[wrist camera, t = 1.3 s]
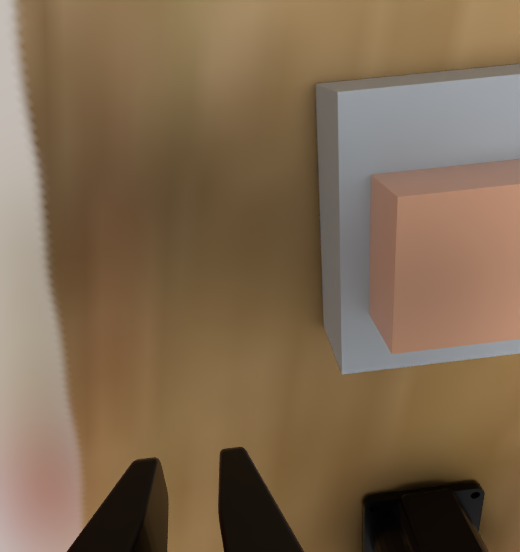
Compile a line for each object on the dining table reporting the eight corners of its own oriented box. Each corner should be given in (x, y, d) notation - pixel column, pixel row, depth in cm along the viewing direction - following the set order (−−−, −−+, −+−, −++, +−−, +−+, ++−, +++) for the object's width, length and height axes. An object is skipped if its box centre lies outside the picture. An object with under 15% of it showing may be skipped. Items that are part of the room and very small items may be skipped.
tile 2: (506, 298, 17) (549, 335, 15) (368, 314, 17) (391, 354, 15) (528, 157, 15) (581, 177, 13) (370, 174, 15) (397, 196, 13)
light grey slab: (587, 295, 22) (650, 337, 19) (323, 326, 21) (341, 374, 18) (644, 51, 18) (738, 52, 14) (315, 83, 17) (337, 92, 14)
